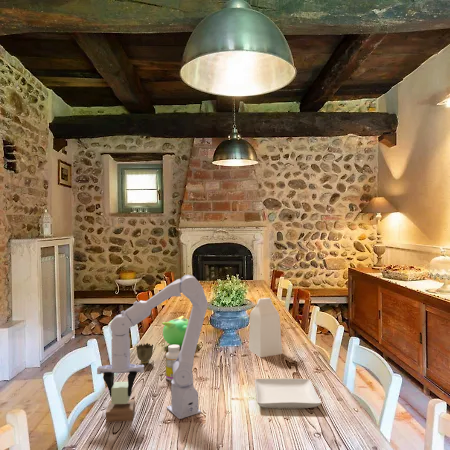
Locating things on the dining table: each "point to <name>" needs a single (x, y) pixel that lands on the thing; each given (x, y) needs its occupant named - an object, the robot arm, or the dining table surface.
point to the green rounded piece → (175, 331)
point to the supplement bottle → (171, 360)
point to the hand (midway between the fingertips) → (120, 395)
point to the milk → (265, 329)
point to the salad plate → (286, 393)
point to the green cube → (119, 393)
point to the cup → (144, 352)
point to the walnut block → (120, 412)
